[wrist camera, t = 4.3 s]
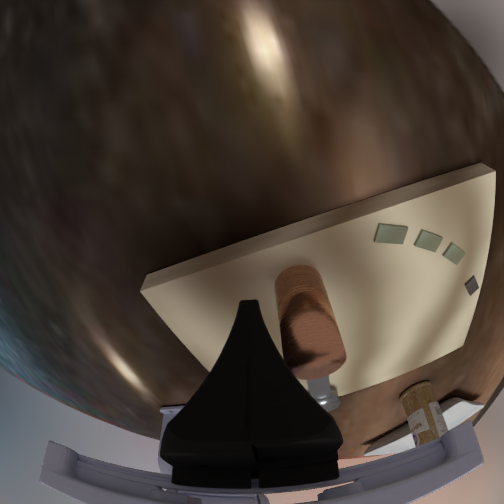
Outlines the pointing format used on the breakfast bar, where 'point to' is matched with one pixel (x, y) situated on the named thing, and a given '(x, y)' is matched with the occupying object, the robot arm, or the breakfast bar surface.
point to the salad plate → (402, 437)
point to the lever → (309, 331)
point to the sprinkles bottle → (423, 413)
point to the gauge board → (352, 277)
